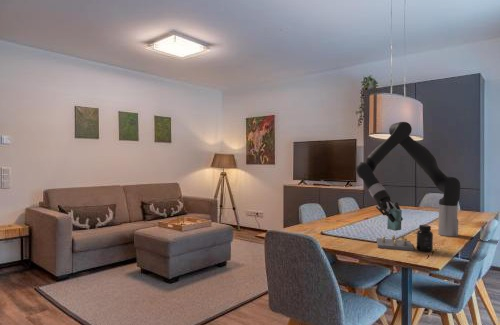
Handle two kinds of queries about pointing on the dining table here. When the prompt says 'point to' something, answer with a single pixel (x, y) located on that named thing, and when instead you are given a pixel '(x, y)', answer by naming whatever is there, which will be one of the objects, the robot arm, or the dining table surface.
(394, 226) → the teal block
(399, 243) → the base plate
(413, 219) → the dining table surface
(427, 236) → the supplement bottle
